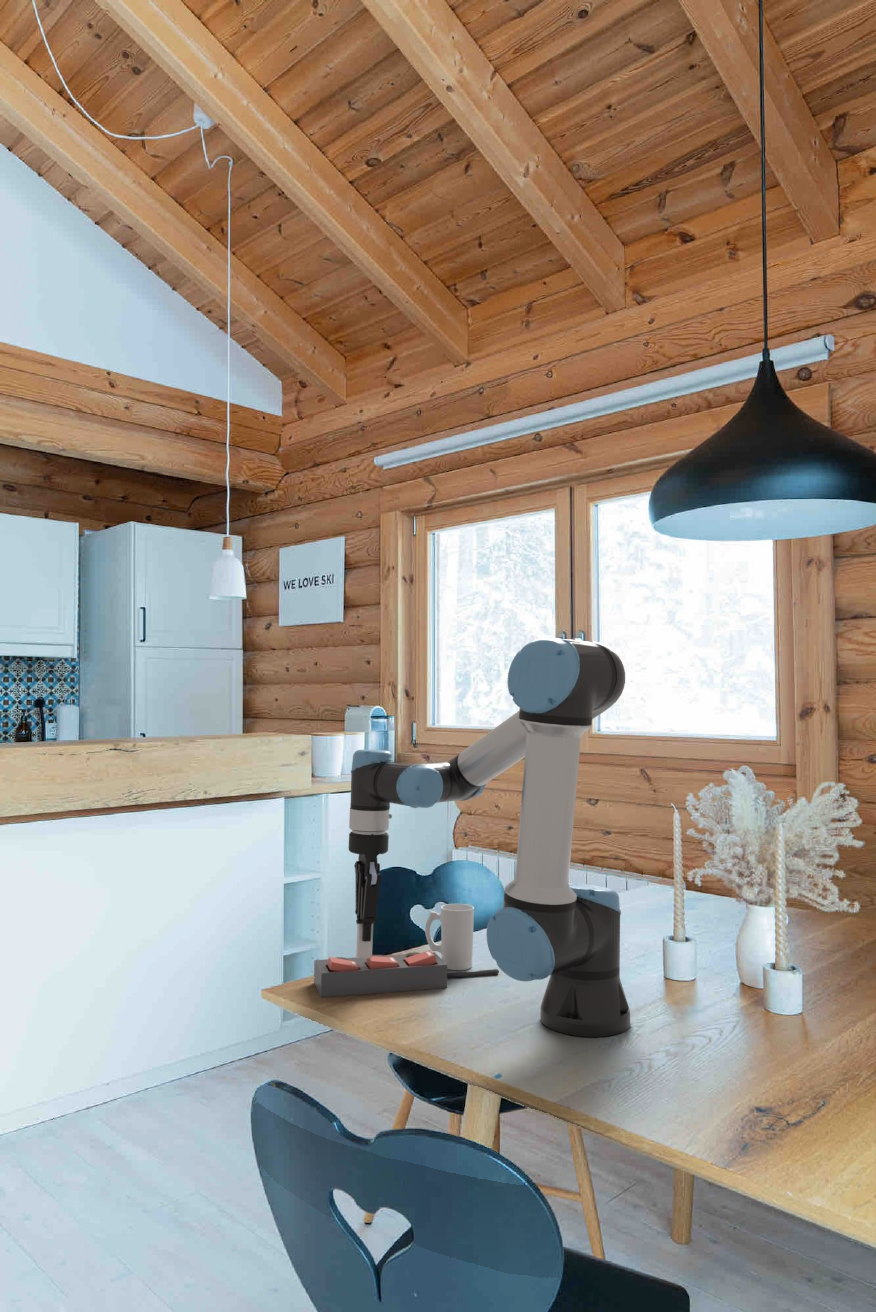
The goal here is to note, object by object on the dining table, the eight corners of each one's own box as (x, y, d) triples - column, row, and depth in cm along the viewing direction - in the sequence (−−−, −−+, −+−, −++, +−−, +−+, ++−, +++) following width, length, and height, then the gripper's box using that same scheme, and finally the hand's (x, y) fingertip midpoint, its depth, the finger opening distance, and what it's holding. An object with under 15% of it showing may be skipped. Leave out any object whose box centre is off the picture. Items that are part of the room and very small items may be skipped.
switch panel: (509, 982, 184) (509, 958, 184) (321, 997, 174) (321, 971, 174) (493, 969, 192) (494, 946, 193) (313, 982, 183) (314, 958, 183)
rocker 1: (357, 974, 177) (359, 966, 177) (330, 969, 176) (332, 961, 176) (353, 968, 181) (355, 961, 181) (327, 964, 179) (329, 956, 180)
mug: (475, 962, 198) (476, 904, 198) (471, 971, 191) (471, 911, 191) (427, 959, 199) (428, 902, 200) (421, 968, 193) (422, 909, 193)
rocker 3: (436, 962, 181) (434, 954, 181) (410, 970, 180) (409, 963, 180) (431, 957, 185) (429, 949, 185) (406, 965, 183) (404, 957, 183)
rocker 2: (397, 970, 179) (398, 962, 179) (370, 968, 178) (371, 960, 178) (392, 964, 183) (393, 956, 183) (366, 963, 181) (367, 955, 181)
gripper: (396, 836, 175) (391, 966, 174) (380, 826, 188) (376, 946, 187) (356, 836, 173) (350, 967, 172) (343, 826, 186) (338, 948, 185)
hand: (364, 956), depth 180 cm, fingers closed
